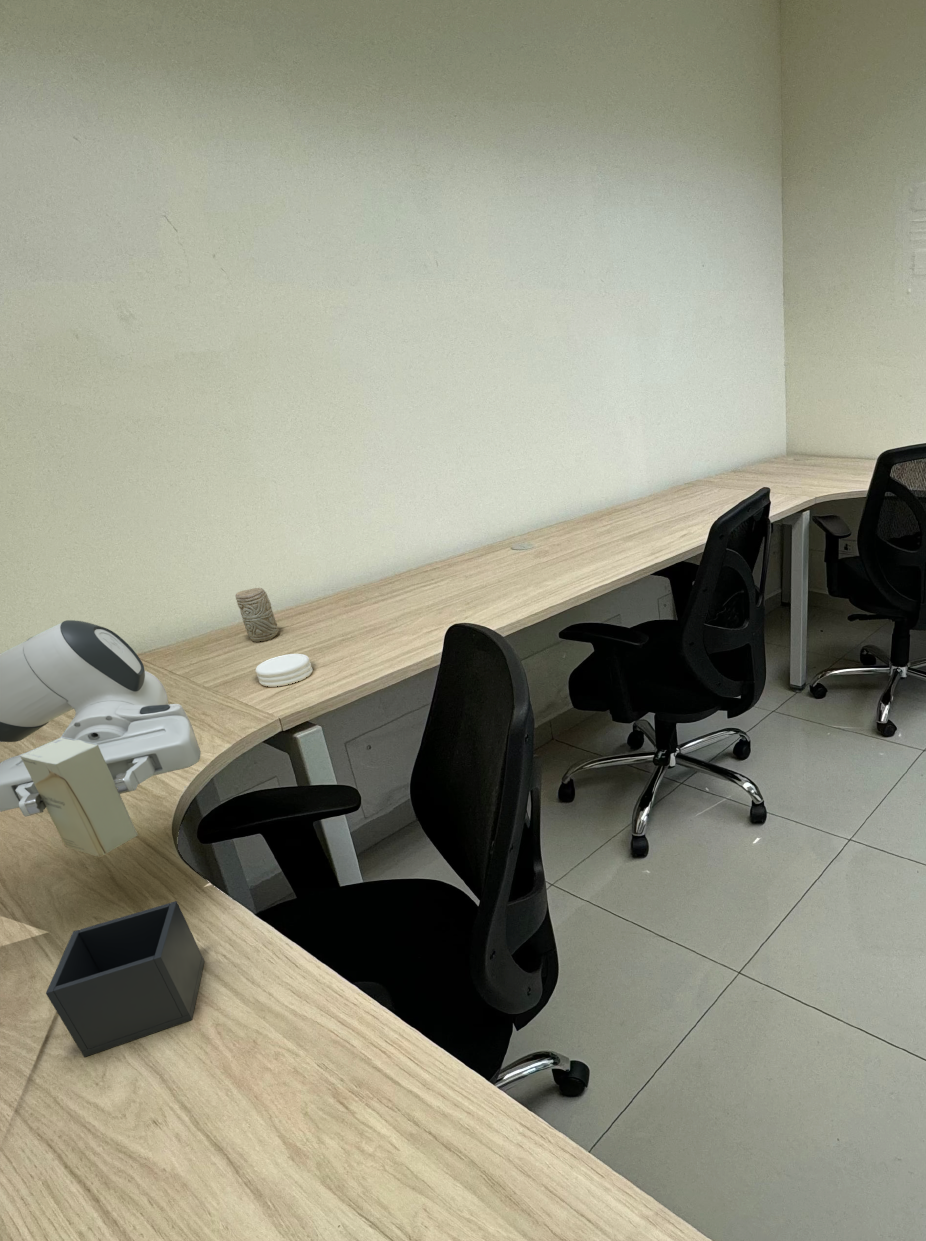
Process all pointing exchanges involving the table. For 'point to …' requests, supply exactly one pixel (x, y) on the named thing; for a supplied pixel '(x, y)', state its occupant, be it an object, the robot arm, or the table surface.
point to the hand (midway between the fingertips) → (78, 797)
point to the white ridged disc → (284, 670)
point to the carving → (257, 614)
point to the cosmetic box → (80, 795)
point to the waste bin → (127, 978)
